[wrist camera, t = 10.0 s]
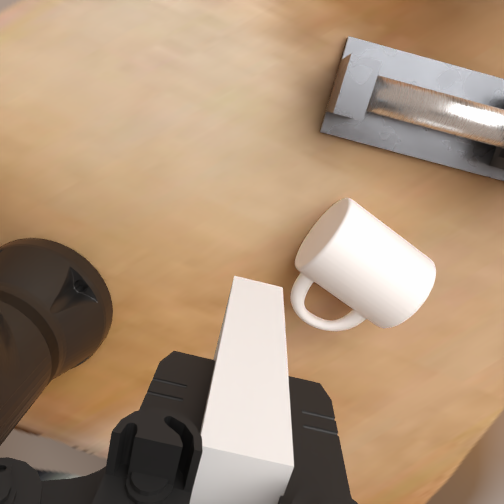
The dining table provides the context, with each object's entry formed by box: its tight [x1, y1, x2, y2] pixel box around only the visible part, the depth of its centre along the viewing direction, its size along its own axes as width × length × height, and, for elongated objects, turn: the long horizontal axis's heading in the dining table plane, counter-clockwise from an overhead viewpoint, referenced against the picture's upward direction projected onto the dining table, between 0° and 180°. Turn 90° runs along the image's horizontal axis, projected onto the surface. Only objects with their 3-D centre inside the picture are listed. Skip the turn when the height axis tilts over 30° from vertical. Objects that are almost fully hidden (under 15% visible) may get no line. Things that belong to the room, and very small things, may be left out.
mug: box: [290, 198, 436, 331], centre depth 39 cm, size 12×10×8 cm
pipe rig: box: [320, 37, 504, 181], centre depth 35 cm, size 24×8×6 cm, turn 76°
